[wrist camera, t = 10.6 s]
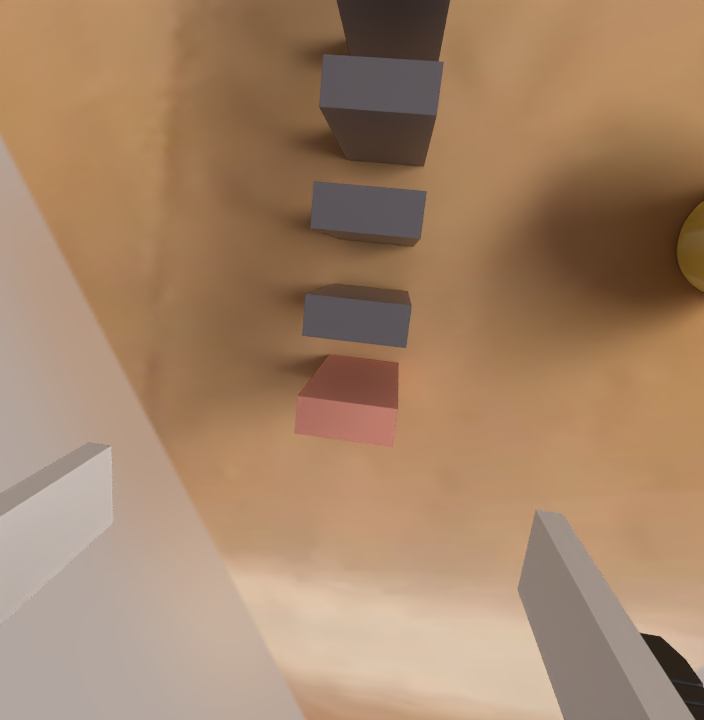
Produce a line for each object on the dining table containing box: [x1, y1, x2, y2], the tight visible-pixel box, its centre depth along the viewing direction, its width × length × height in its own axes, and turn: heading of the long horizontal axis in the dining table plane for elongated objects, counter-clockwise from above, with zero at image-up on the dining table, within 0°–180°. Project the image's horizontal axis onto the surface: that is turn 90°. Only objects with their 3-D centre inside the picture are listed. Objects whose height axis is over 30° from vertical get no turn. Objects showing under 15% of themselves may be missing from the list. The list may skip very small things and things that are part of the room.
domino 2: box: [319, 54, 443, 166], centre depth 23 cm, size 2×5×10 cm, turn 85°
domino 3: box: [310, 181, 427, 246], centre depth 24 cm, size 2×5×10 cm, turn 85°
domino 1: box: [337, 0, 450, 61], centre depth 22 cm, size 2×5×10 cm, turn 84°
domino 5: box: [295, 355, 399, 447], centre depth 27 cm, size 2×5×10 cm, turn 84°
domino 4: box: [302, 284, 412, 348], centre depth 25 cm, size 2×5×10 cm, turn 84°
